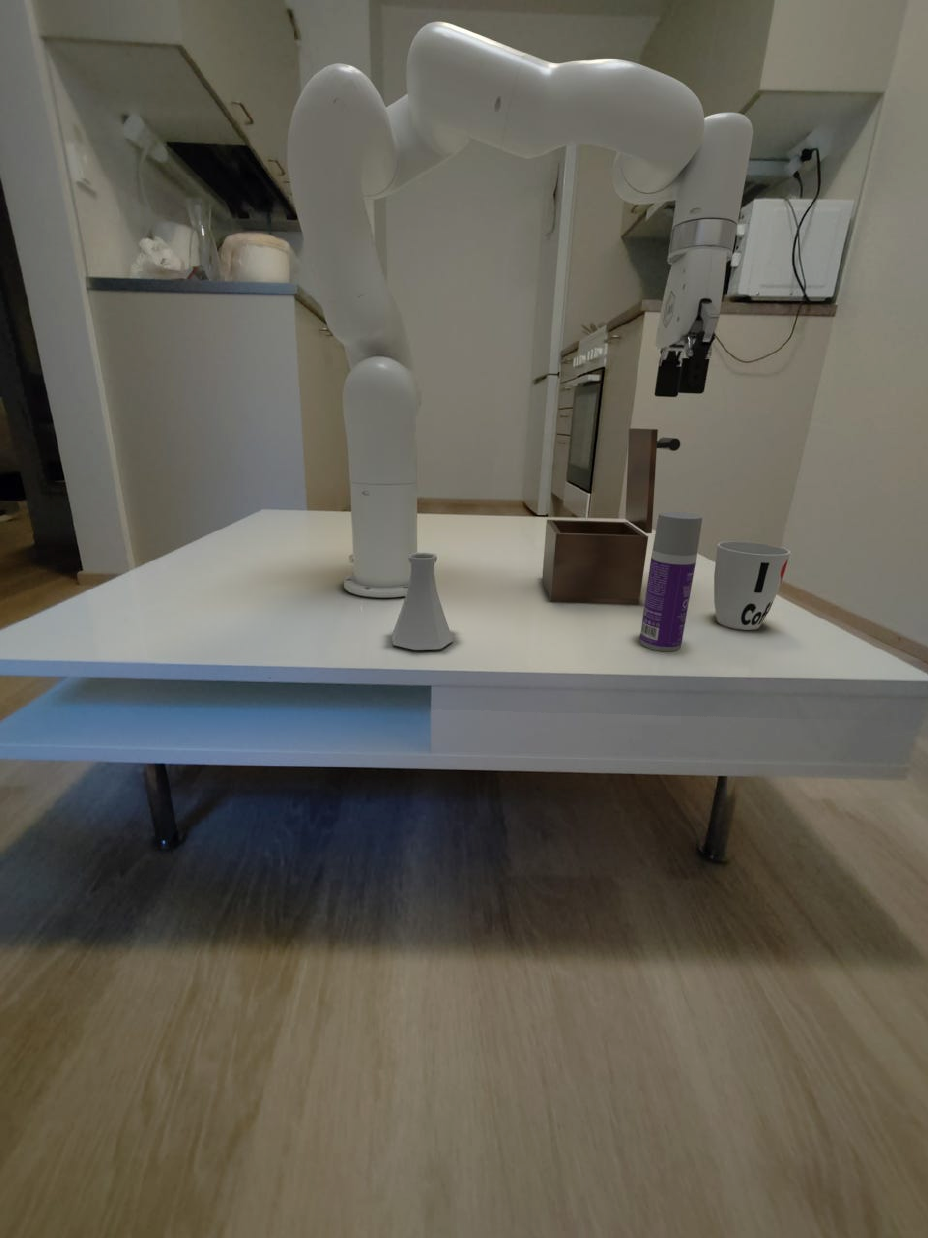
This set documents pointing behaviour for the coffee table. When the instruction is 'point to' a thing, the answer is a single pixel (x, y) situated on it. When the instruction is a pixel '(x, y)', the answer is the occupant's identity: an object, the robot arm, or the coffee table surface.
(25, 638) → the coffee table surface
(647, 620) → the container
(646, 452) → the bin lid
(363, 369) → the robot arm
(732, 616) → the cup
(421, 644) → the flask
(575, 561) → the bin
